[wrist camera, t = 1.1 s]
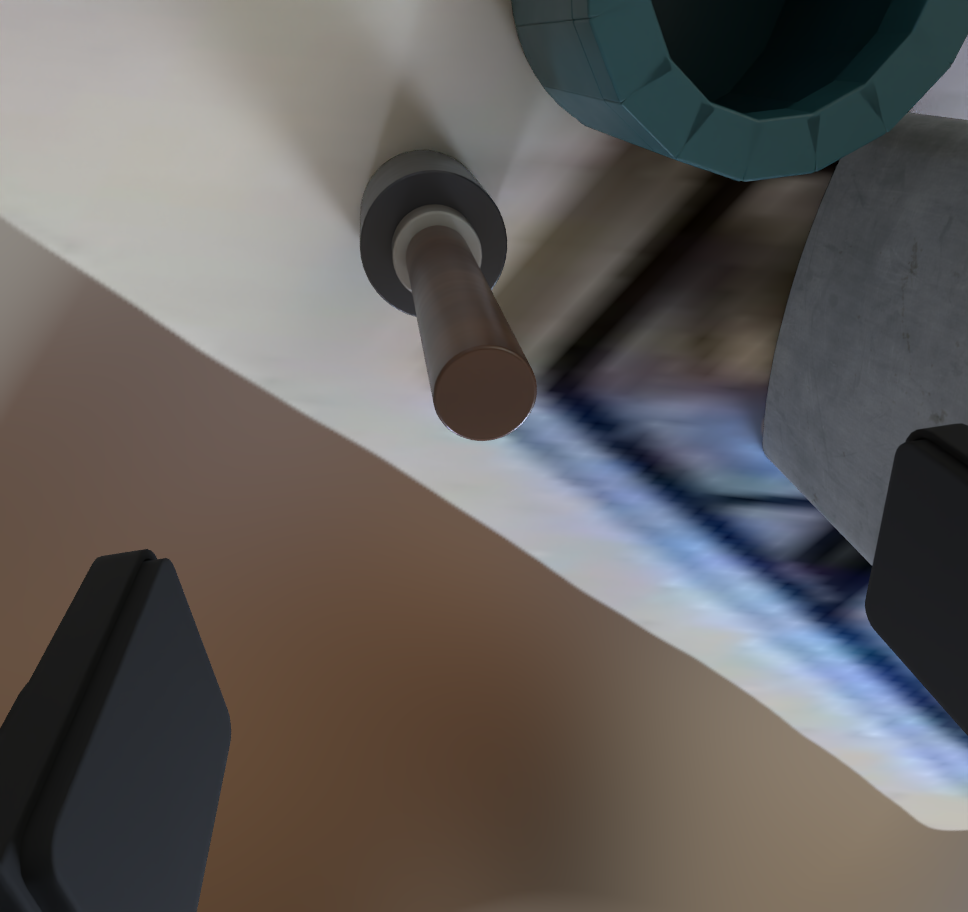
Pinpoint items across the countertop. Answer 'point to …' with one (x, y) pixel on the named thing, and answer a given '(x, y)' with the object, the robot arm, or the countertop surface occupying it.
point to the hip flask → (874, 323)
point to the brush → (448, 287)
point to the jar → (741, 73)
